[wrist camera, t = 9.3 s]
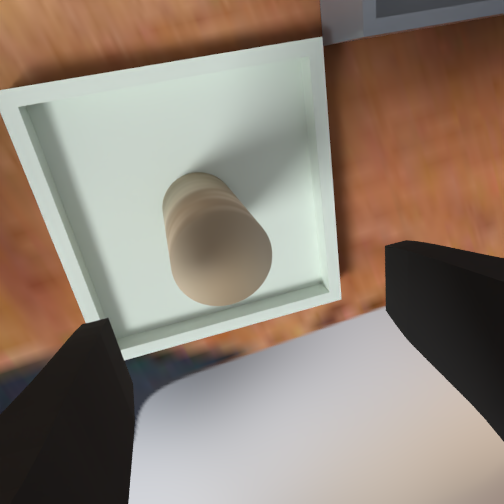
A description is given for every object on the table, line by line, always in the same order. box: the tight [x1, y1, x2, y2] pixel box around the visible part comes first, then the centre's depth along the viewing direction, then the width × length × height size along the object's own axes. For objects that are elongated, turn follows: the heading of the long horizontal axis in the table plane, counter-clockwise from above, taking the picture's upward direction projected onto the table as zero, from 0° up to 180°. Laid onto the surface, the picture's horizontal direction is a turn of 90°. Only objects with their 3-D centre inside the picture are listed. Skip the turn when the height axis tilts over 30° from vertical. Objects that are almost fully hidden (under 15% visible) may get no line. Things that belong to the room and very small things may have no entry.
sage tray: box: [0, 37, 341, 360], centre depth 18 cm, size 12×12×2 cm
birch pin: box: [162, 172, 272, 306], centre depth 15 cm, size 3×3×6 cm
